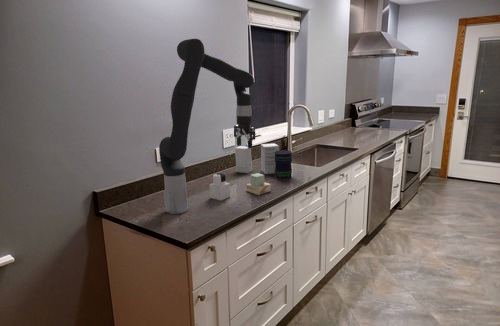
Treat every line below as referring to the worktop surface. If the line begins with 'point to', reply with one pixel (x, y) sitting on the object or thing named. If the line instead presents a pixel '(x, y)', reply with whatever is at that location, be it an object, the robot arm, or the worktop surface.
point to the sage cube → (257, 179)
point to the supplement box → (268, 157)
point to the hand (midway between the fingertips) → (244, 146)
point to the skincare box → (243, 159)
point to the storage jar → (283, 164)
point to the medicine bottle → (219, 187)
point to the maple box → (258, 188)
